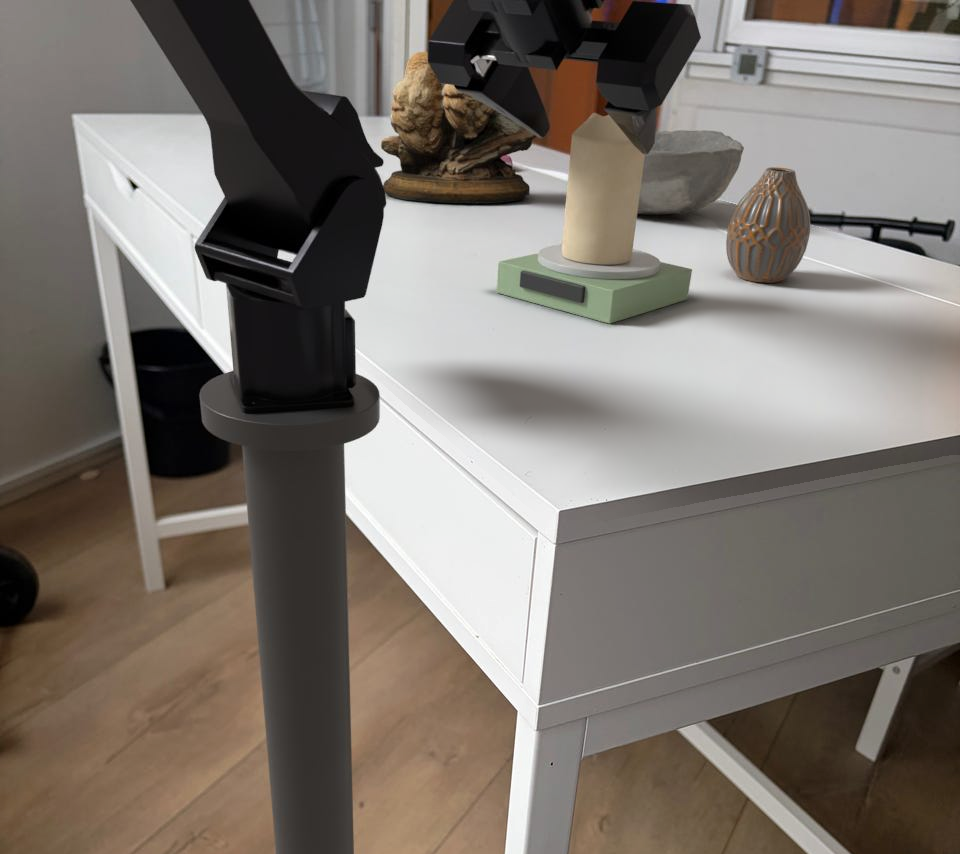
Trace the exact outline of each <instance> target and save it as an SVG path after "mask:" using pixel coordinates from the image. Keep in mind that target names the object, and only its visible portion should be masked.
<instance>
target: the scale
mask: <svg viewBox="0 0 960 854" xmlns="http://www.w3.org/2000/svg"><path fill="white" fill-rule="evenodd" d="M497 267H498V268H497V278H496V279H497V280H496V282H497V283H496V293H497V294H499V295H504V296H508V297H511V298H515V299H518V300H522V301H525V302H529V303H532V304H537V305H541V306H544V307H547V308H551V309H555V310H558V311H562V312H565V313H570V314H573V315H577V316H580V317H583V318H587V319H591V320H594V321H599V322H602V323H605V324H609V325H610V324H613V323H616V322H619V321H622V320H626V319H629V318H632V317H635V316H638V315H639V316H640V315H643V314H645V313H649V312H652V311H655V310H658V309H661V308H664V307H668V306H671V305H674V304H677V303H681V302H684V301H687V300H688V299H689V298H688V297H689V292H690V287H691V286H690V285H691V281H692V273H693V269H692V268H689V267H685V266H681V265H676V264H671V263H667V262H664V261H661V260H660V259H659V258H658V257H656V256H655V255H653V254H651V253H648V252H646V251H642V250H639V249H635V248H633V250H632V256H631V259H630V261H629V262H627V263H623V264H614V265H600V264H588V263H582V262H577V261H573V260H570V259H567V258H565V257H564V256H563V255H562V243H561V244H554V245H550V246H549V245H548V246H545V247H543V248H542V249H540V250H539V251H538V252H537V253H533V254H528V255H524V256H518V257H513V258H509V259H505V260H500V261H498V263H497Z"/></svg>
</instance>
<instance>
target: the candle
mask: <svg viewBox="0 0 960 854" xmlns="http://www.w3.org/2000/svg"><path fill="white" fill-rule="evenodd" d="M644 157H645V154H642V153H641V152H640V151H639V150H638V149H637V148H636V147H635V146H634V145H633V144H632V142H631V141H630V140H629V139H628V137H627V136H626V135H625V134H624V133H623V131H622V130H621V129H620V128H619V126H618V125H617V124H616V123H615V122H614V121H613V119H612V118H611V117H610V116H609V114H606V115H600V114H599V113H597V112H593V113H591V115H590V116H589V117H588V118H586V120H585V121H584V122H583V123H582V124H581V125H580V126H579V127H578V128H576V129H575V130H574V131H573V133H572V134H571V142H570V153H569V162H568V163H569V164H568V174H567V175H568V176H567V184H566V185H567V186H566V195H565V196H566V197H565V198H566V199H565V206H564V216H563V217H564V218H563V219H564V220H563V230H562V238H561V239H562V241H561V244H562V255H563V256H564V257H565V258H567V259H570V260H573V261H577V262H582V263H588V264H600V265H614V264H623V263H627V262H629V261H630V259H631V256H632V250H633V249H634V241H635V233H636V226H637V219H638V214H637V212H638V204H639V196H640V188H641V181H642V173H643V165H644Z"/></svg>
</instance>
